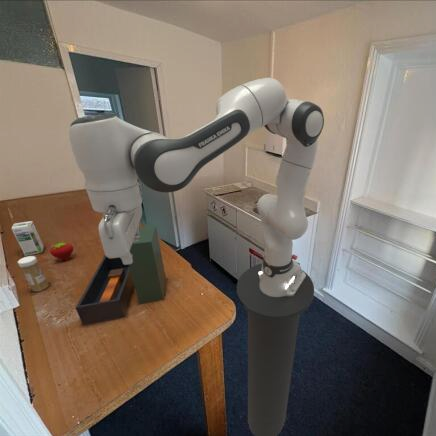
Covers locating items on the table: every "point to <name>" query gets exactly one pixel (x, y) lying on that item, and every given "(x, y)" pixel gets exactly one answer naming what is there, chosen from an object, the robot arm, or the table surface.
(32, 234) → the syrup box
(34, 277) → the sprinkles bottle
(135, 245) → the pedestal
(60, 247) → the strawberry
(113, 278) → the orange bar brown end
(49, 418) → the table surface
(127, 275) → the drawer
